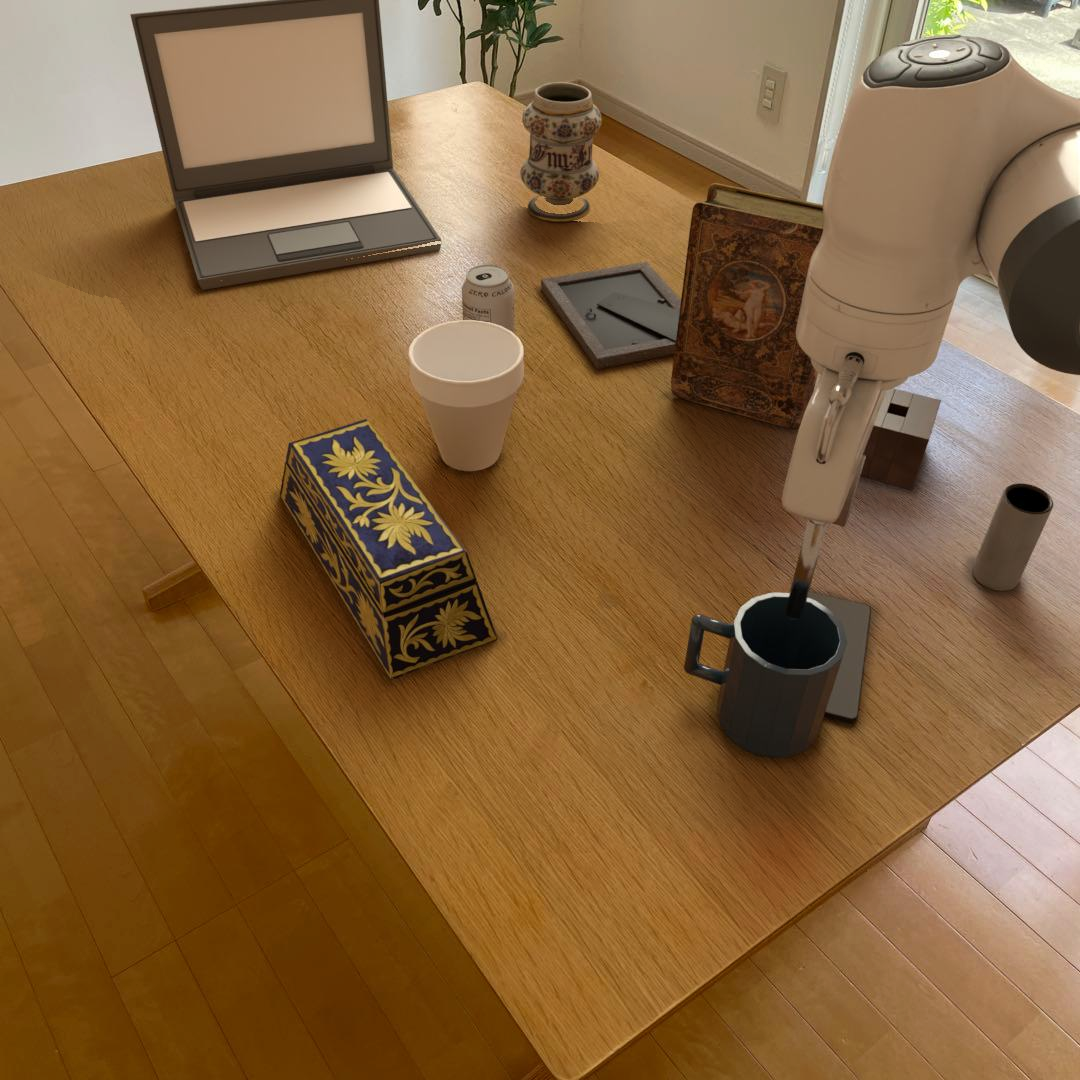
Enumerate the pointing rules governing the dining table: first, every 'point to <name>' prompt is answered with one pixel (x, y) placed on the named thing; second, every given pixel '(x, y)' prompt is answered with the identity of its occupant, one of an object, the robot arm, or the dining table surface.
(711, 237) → the book
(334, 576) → the decorative box
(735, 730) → the grey coffee mug
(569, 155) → the apothecary jar
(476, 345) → the cup
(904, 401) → the utensil block
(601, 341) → the picture frame
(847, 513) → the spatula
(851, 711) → the smartphone
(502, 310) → the energy drink can
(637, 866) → the dining table surface
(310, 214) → the laptop
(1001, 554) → the grey hollow cylinder
